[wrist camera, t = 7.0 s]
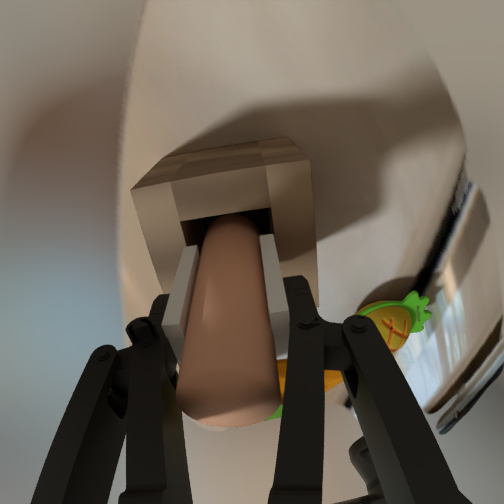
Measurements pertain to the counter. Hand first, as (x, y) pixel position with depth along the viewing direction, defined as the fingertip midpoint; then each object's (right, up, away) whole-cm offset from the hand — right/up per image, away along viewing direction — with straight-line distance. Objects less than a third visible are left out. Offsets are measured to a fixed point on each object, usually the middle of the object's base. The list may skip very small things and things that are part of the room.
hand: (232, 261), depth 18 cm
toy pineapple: (+15, -6, +14) cm, 21 cm away
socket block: (0, +4, +8) cm, 9 cm away
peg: (0, +1, +2) cm, 3 cm away
